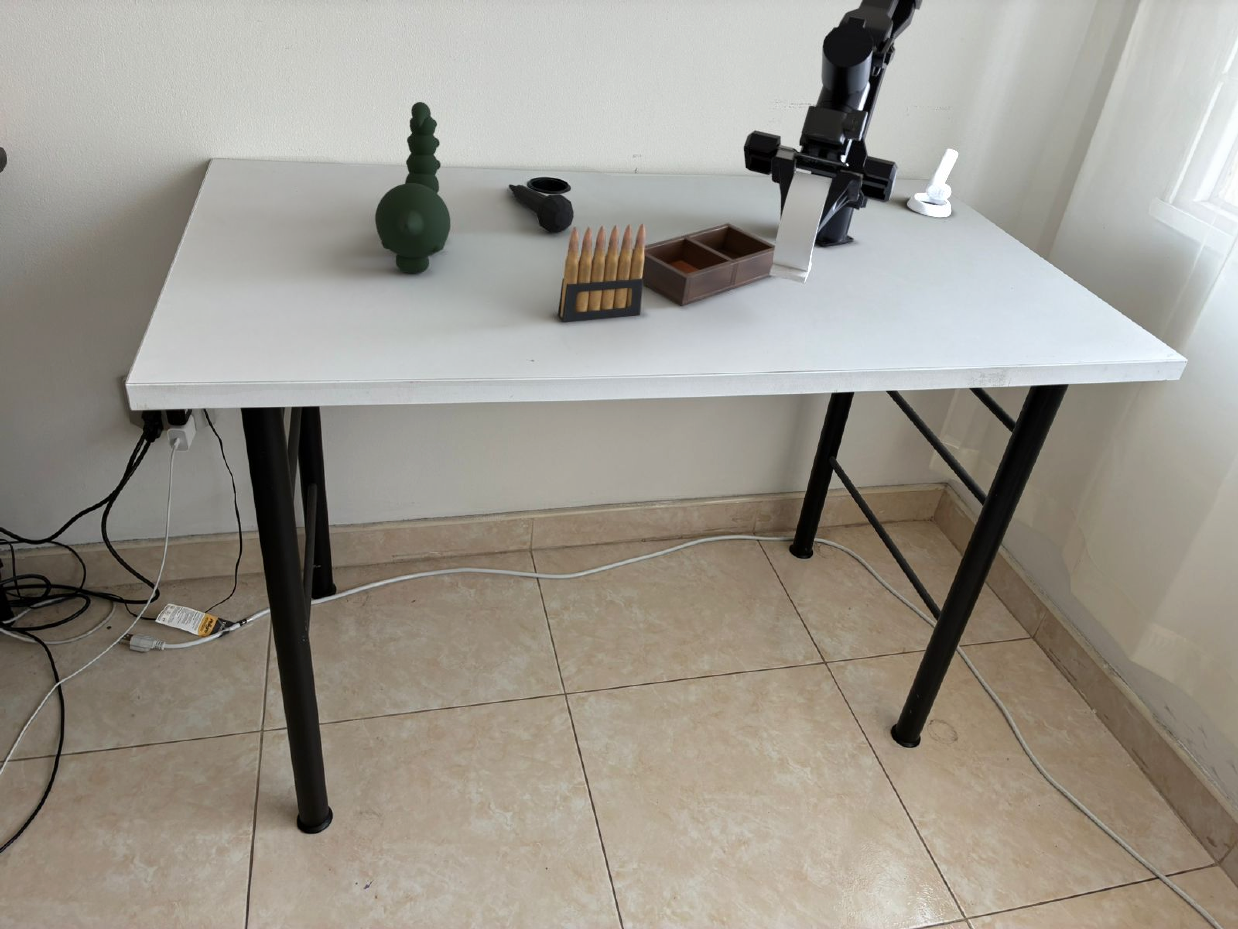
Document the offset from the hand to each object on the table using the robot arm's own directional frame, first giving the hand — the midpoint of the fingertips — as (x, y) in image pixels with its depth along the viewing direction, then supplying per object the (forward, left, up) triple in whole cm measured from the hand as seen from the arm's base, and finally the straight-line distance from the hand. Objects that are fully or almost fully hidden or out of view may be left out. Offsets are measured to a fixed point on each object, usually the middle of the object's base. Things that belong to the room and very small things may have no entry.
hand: (798, 227), depth 116 cm
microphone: (+12, -42, -13) cm, 46 cm away
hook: (-57, -24, -13) cm, 63 cm away
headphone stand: (-1, -1, -7) cm, 7 cm away
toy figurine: (+35, -35, -13) cm, 51 cm away
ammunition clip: (+21, -10, -13) cm, 27 cm away
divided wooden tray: (0, -15, -13) cm, 20 cm away
